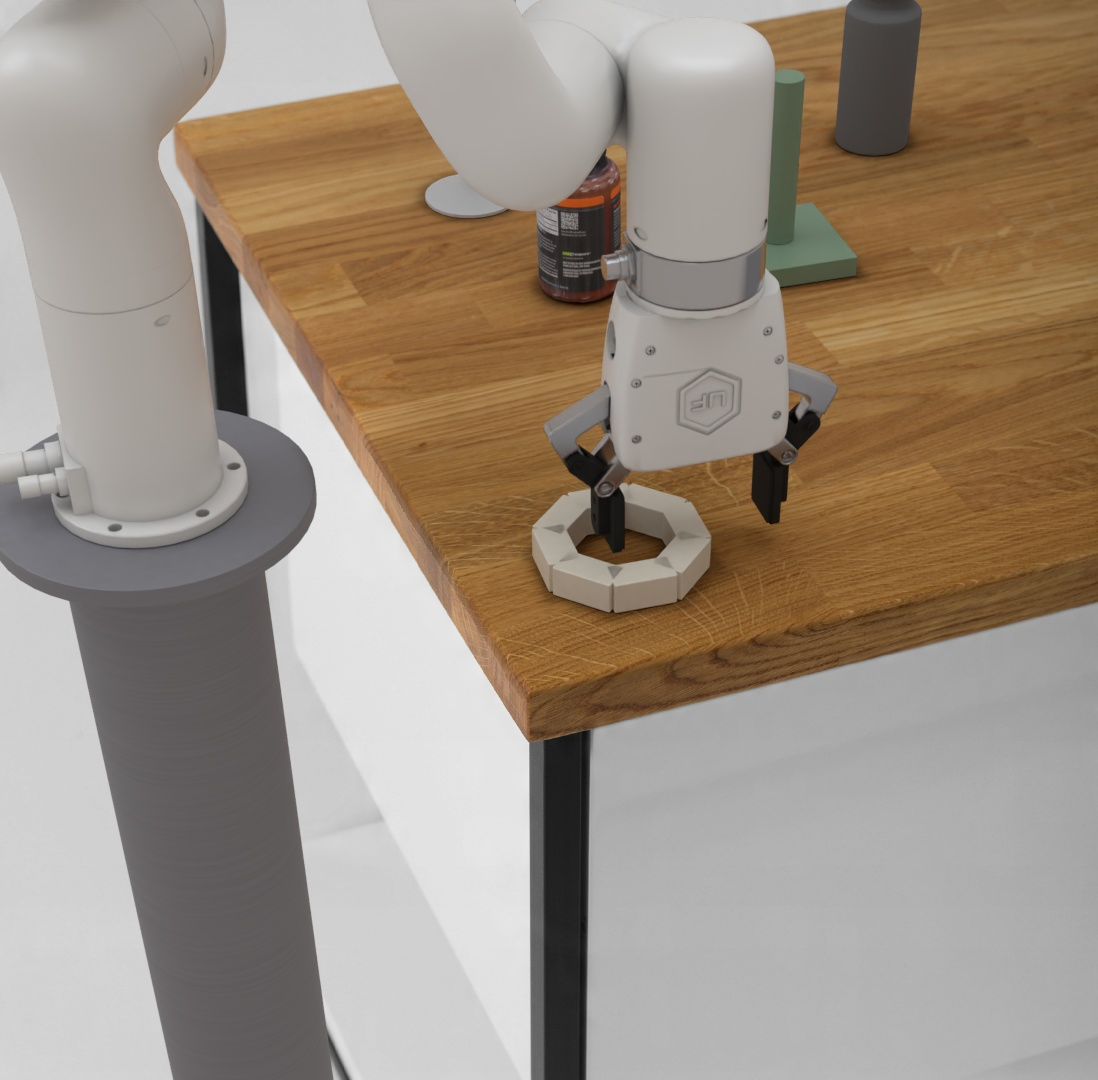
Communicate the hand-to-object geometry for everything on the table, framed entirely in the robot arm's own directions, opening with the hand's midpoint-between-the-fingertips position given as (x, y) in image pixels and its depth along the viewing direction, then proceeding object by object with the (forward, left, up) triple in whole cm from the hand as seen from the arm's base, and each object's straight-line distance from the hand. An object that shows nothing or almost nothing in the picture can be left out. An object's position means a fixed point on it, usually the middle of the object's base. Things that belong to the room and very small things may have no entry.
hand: (688, 525), depth 122 cm
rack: (+18, +33, -2) cm, 38 cm away
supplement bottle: (+3, +33, -2) cm, 33 cm away
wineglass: (-1, +49, -2) cm, 49 cm away
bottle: (+32, +49, -2) cm, 59 cm away
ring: (-4, 0, -2) cm, 5 cm away
